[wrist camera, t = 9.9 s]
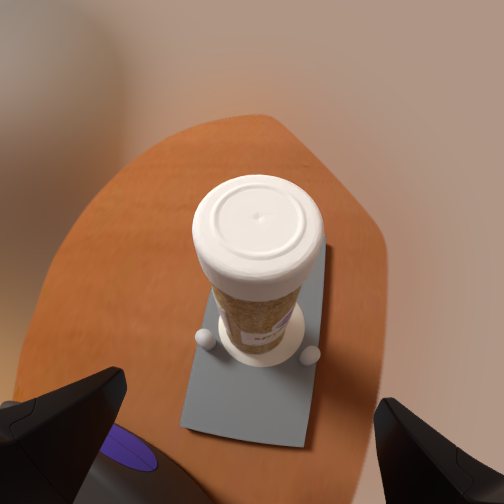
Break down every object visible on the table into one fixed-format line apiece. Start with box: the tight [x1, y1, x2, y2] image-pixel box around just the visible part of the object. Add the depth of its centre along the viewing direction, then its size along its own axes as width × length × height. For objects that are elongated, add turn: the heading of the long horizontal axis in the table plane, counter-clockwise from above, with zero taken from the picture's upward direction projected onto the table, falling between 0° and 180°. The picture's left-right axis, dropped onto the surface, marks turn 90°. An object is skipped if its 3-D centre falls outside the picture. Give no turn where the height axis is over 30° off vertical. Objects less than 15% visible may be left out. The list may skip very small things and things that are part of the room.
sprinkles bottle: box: [192, 175, 324, 355], centre depth 15 cm, size 5×5×14 cm
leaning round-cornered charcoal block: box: [0, 401, 213, 504], centre depth 12 cm, size 16×5×9 cm, turn 60°
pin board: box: [180, 236, 326, 447], centre depth 21 cm, size 18×9×3 cm, turn 170°
